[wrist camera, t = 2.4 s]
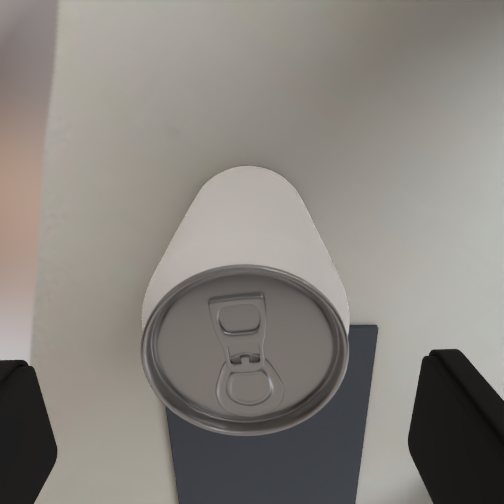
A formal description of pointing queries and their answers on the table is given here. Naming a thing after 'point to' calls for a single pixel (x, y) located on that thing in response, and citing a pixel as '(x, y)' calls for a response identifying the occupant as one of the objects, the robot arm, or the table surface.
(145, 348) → the can
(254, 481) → the mat
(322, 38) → the table surface
